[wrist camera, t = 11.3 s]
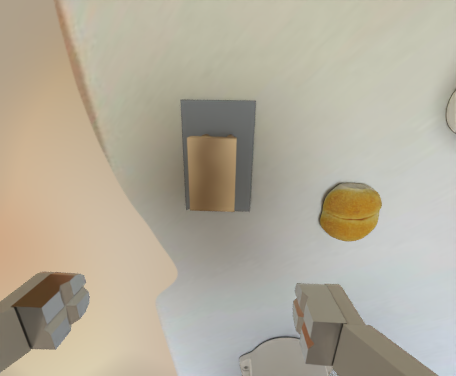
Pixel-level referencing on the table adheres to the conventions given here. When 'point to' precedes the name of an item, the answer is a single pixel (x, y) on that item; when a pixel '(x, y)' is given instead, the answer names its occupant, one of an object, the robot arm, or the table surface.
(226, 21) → the table surface
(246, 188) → the mat
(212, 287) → the table surface
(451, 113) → the candle holder
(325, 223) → the bread roll
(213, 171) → the stool
